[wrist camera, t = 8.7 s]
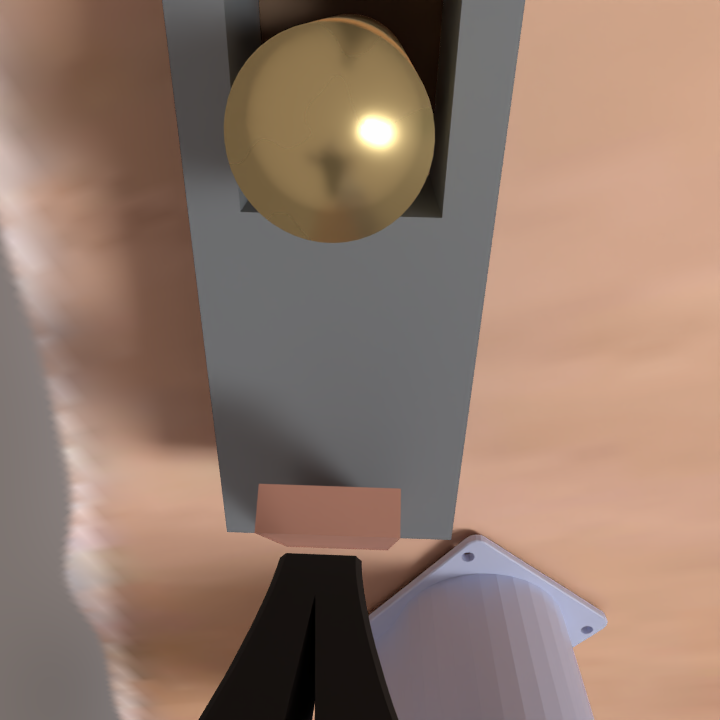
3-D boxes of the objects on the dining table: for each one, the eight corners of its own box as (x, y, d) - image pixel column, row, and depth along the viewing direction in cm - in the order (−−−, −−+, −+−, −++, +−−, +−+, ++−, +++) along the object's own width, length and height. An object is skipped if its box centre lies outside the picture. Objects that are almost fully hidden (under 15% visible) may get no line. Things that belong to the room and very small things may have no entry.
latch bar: (388, 515, 18) (387, 550, 18) (289, 512, 18) (286, 546, 18) (400, 488, 13) (400, 537, 12) (258, 483, 13) (254, 532, 13)
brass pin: (362, 169, 17) (350, 278, 10) (267, 95, 16) (186, 162, 9) (436, 70, 16) (479, 119, 9) (336, -17, 15) (301, -34, 8)
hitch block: (439, 457, 22) (451, 539, 19) (250, 450, 22) (227, 531, 19) (500, -74, 14) (538, -98, 11) (203, -81, 14) (148, -108, 11)
